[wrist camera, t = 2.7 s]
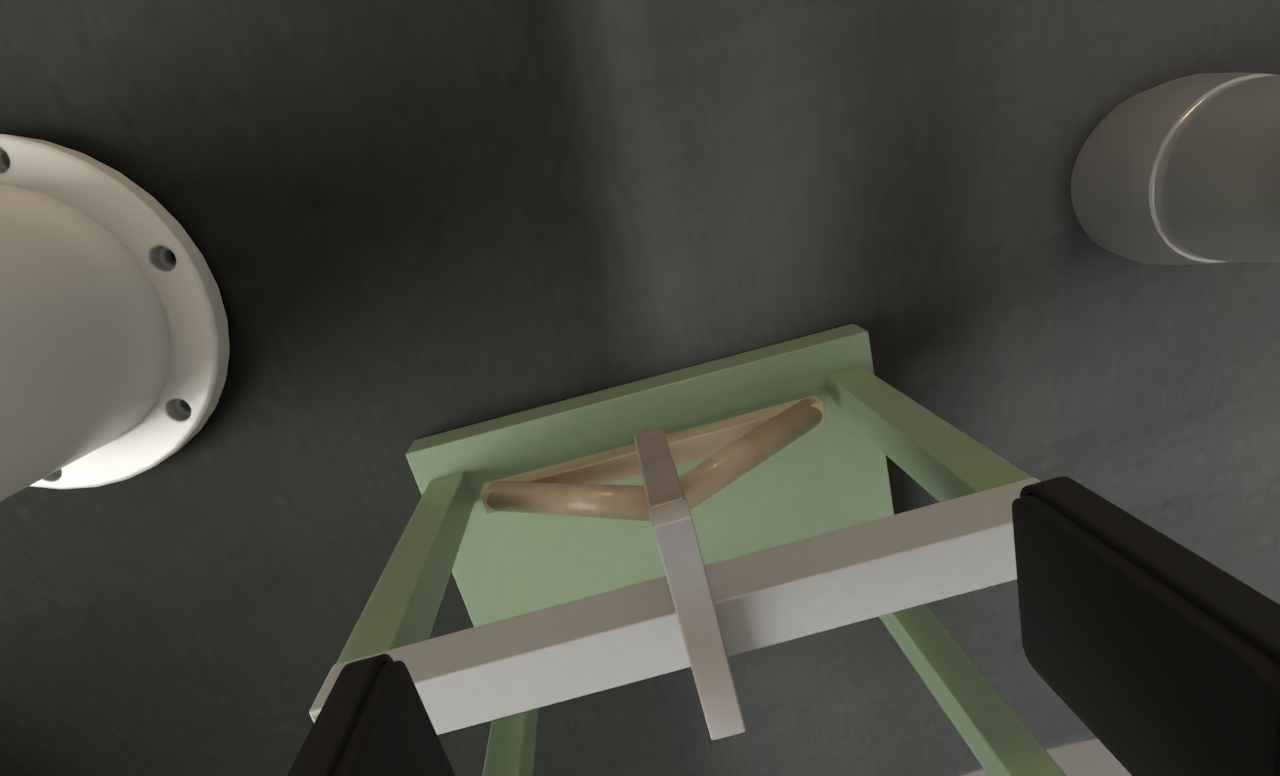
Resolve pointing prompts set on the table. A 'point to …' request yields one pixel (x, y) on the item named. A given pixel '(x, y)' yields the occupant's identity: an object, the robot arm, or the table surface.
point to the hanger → (670, 516)
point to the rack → (729, 541)
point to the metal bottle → (1186, 172)
